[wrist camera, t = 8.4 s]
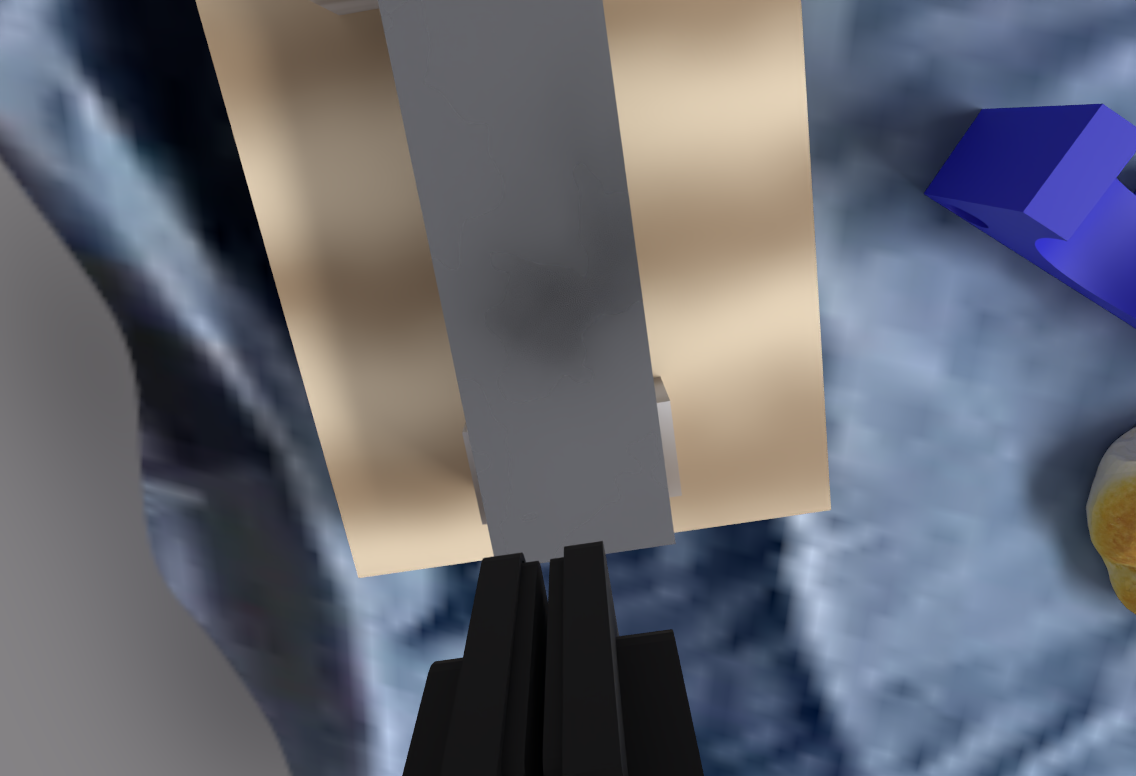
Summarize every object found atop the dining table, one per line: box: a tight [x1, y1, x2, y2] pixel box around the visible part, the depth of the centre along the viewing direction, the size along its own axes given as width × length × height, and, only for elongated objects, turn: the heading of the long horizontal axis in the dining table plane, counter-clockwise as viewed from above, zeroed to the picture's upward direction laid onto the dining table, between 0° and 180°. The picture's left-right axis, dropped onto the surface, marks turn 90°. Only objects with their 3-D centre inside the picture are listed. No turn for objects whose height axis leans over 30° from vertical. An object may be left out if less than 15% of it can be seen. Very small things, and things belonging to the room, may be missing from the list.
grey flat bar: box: [378, 0, 676, 563], centre depth 20 cm, size 17×5×2 cm, turn 9°
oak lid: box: [196, 0, 831, 578], centre depth 23 cm, size 20×16×7 cm
